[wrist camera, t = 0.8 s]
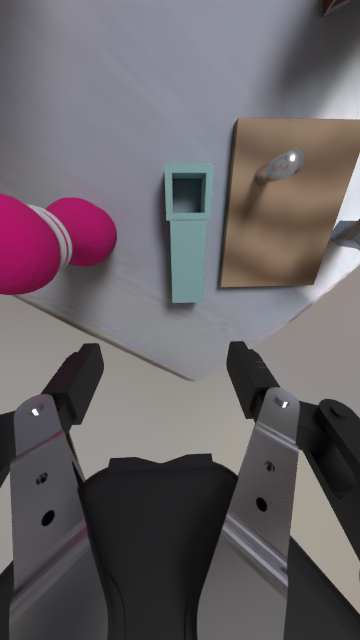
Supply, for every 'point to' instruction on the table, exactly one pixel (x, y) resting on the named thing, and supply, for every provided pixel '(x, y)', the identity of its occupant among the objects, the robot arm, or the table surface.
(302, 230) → the board
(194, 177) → the teal bar with hole
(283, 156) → the capsule
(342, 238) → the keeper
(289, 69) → the table surface
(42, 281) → the pepper mill
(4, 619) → the robot arm
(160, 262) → the table surface
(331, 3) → the food container
